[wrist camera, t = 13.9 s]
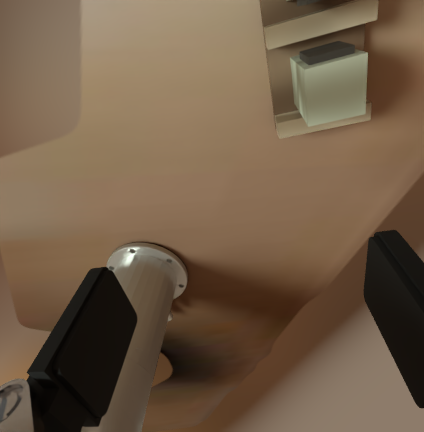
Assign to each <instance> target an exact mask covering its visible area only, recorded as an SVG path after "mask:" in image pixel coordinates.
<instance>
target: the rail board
mask: <svg viewBox="0 0 424 432" xmlns="http://www.w3.org/2000/svg"><path fill="white" fill-rule="evenodd" d="M378 1H379V0H260V7H261V15H262V23H263V31H264V39H265V47H266V55H267V63H268V71H269V79H270V87H271V95H272V103H273V111H274V119H275V127H276V130H277V134H278V137H279V139H281V138H286V137H291V136H296V135H300V134H305V133H310V132H315V131H320V130H325V129H329V128H334V127H339V126H344V125H349V124H354V123H358V122H363V121H368V120H371V107H372V102H370V101H369V100H367V99H366V112H365V114H364V115H359V116H355V117H350V118H346V119H341V120H337V121H332V122H328V123H323V124H319V125H314V126H310V127H308V125H307V124H306V122H305V120H304V119H303V117H302V115H301V114H300V112H299V110H298V109H297V107H296V105H295V104H294V93H293V83H292V72H291V62H290V57H294V56H297V55H299V52H300V51H304V50H307V49H311V48H314V47H318V46H322V45H325V44H329V43H332V42H336V41H341V42H345V43H349V44H353V45H355V49H357V50H360V51H364V35H365V23H367V22H371V21H375V20H377V16H378Z"/></svg>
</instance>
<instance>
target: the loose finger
mask: <svg viewBox="0 0 424 432" xmlns="http://www.w3.org/2000/svg"><path fill="white" fill-rule="evenodd" d="M290 62H291V72H292V83H293V93H294V104H295V105H296V107H297V109H298V110H299V112H300V114H301V115H302V117H303V119H304V120H305V122H306V124H307V125H308V127H310V126H314V125H319V124H323V123H328V122H332V121H337V120H341V119H346V118H350V117H355V116H359V115H364V114H365V112H366V88H367V65H368V53H367V52H364V51H360V50H357V49H355V45H353V44H349V43H345V42H341V41H336V42H332V43H329V44H325V45H322V46H318V47H314V48H311V49H307V50H304V51H300V52H299V55H297V56H294V57H290Z"/></svg>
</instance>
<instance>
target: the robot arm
mask: <svg viewBox="0 0 424 432" xmlns="http://www.w3.org/2000/svg"><path fill="white" fill-rule="evenodd" d="M187 281H188V273H187V270H186V267H185V265H184V264H183V262H182V261H181V260H180V259H179V258H178V257H177V256H176V255H175V254H173V253H172V252H170V251H169V250H167V249H165V248H163V247H160V246H157V245H154V244H149V243H130V244H126V245H123V246H121V247H119V248H117V249H116V250H115V251H114V252H113V253H112V255H111V256H110V258H109V260H108V262H107V267H101V268H93V269H91V270H90V271H89V272H88V273H87V275H86V277H85V278H84V280H83V282H82V283H81V285H80V286H79V288H78V290H77V291H76V293H75V295H74V296H73V298H72V300H71V301H70V303H69V304H68V306H67V308H66V309H65V311H64V313H63V314H62V316H61V317H60V319H59V321H58V322H57V324H56V326H55V327H54V329H53V331H52V332H51V334H50V336H49V337H48V339H47V340H46V342H45V344H44V345H43V347H42V349H41V350H40V352H39V353H38V355H37V357H36V358H35V360H34V362H33V363H32V365H31V367H30V368H29V370H28V371H27V373H28V374H29V375H30V376H29V378H28V379H27V381H26V380H24V379H14V380H11V381H9V382H7V383H5V384H3V385H2V386H0V432H141V430H142V425H143V420H144V416H145V411H146V407H147V403H148V398H149V394H150V390H151V386H152V382H153V378H154V374H155V370H156V366H157V362H158V358H159V354H160V350H161V346H162V342H163V338H164V334H165V330H166V326H167V321H170V320H171V319H172V318H173V315H172V313H171V311H170V309H171V305H172V301H173V299H175V298H177V297H178V296H180V295H181V294H182V293H183V292H184V290H185V288H186V285H187ZM364 298H365V302H366V304H367V306H368V308H369V310H370V312H371V314H372V316H373V317H374V320H375V322H376V324H377V326H378V328H379V330H380V332H381V334H382V336H383V338H384V340H385V342H386V344H387V346H388V348H389V350H390V352H391V354H392V356H393V358H394V360H395V363H396V364H397V366H398V369H399V371H400V373H401V375H402V377H403V379H404V381H405V383H406V385H407V386H408V389H409V391H410V393H411V395H412V397H413V399H414V401H415V403H416V404H417V406H418V407H419V408H424V263H423V261H422V260H421V259H420V258H419V256H418V255H417V254H416V253H415V252H414V251H413V249H412V248H411V247H410V246H409V244H408V243H407V242H406V241H405V240H404V238H403V237H402V236H401V235H400V234H399V233H398V232H397V231H396V230H390V231H382V232H376V233H375V234H374V237H370V238H369V242H368V252H367V263H366V273H365V283H364Z"/></svg>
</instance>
